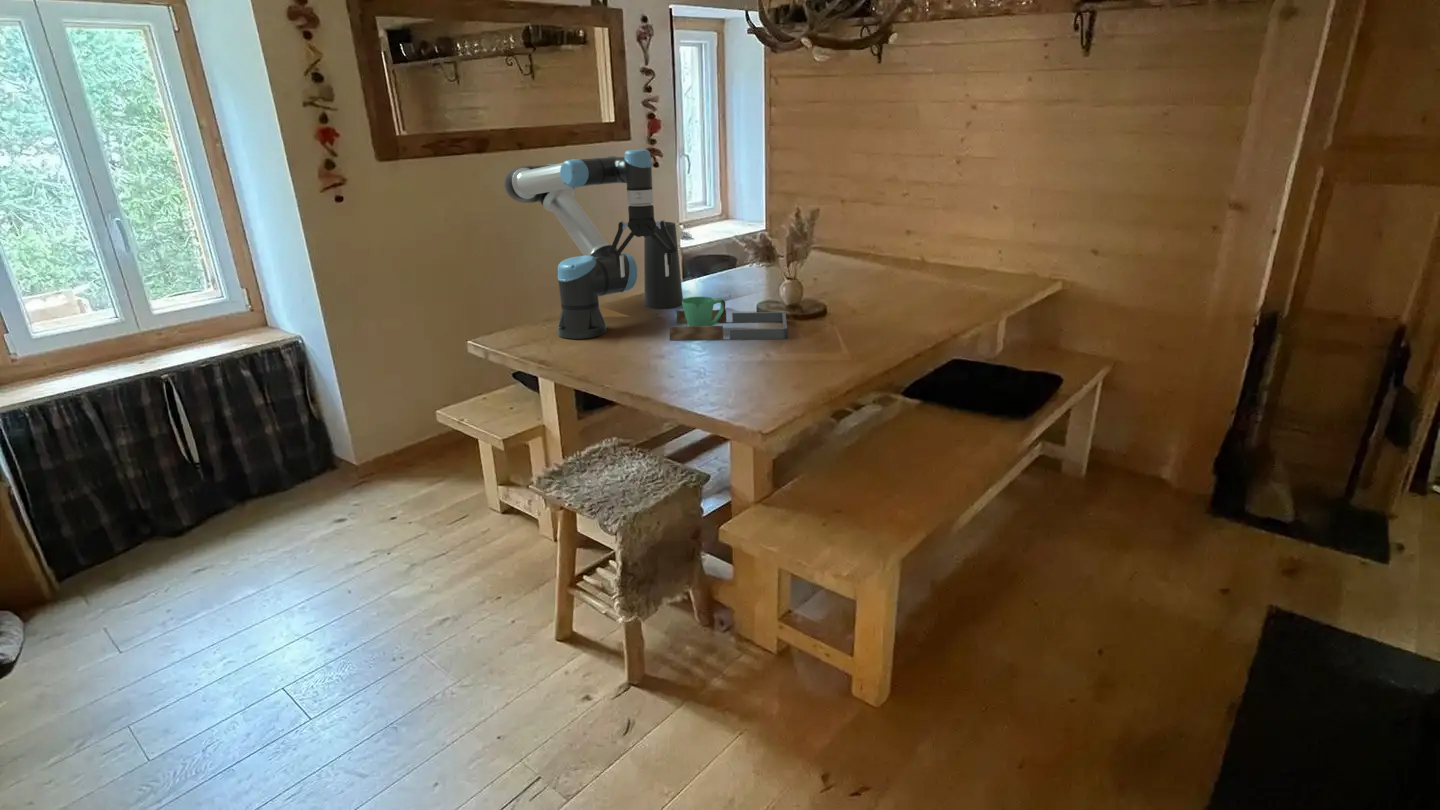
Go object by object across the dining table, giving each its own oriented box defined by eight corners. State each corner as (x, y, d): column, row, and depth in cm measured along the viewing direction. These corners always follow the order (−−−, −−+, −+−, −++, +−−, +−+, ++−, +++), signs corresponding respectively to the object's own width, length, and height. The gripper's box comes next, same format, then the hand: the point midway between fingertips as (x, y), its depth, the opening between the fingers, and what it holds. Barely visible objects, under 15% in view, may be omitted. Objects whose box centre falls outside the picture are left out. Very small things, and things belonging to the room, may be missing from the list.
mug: (694, 337, 239) (692, 305, 235) (677, 331, 247) (675, 299, 243) (733, 329, 246) (733, 298, 243) (716, 324, 254) (715, 293, 251)
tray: (729, 339, 236) (729, 329, 235) (732, 321, 256) (732, 312, 255) (787, 338, 235) (787, 328, 234) (785, 321, 255) (785, 311, 254)
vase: (660, 313, 270) (655, 227, 261) (637, 307, 280) (631, 224, 270) (691, 306, 279) (687, 223, 269) (667, 301, 288) (663, 220, 279)
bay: (669, 340, 237) (669, 327, 235) (677, 322, 257) (676, 310, 256) (723, 339, 236) (722, 326, 234) (726, 321, 256) (726, 309, 255)
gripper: (596, 207, 232) (602, 279, 239) (681, 204, 230) (684, 277, 237) (601, 204, 239) (606, 274, 246) (683, 202, 237) (686, 273, 244)
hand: (645, 276), depth 242 cm, fingers open, 13 cm apart
